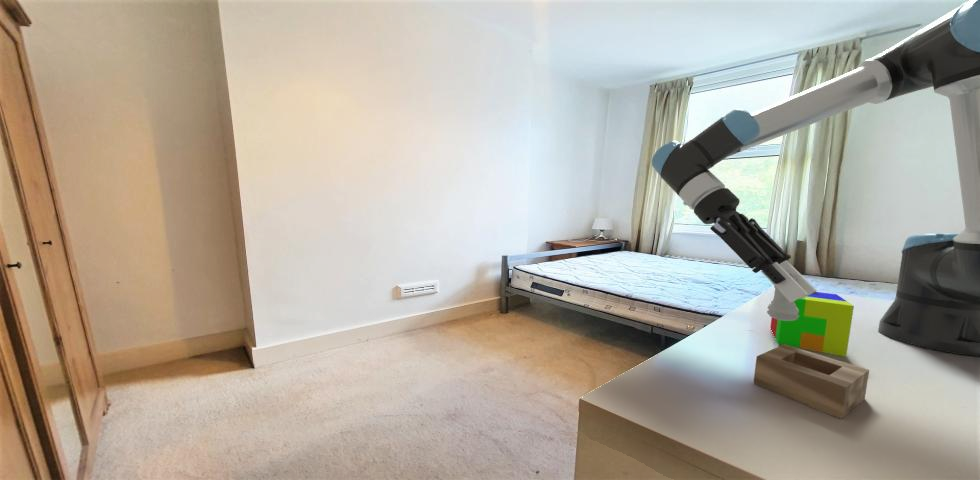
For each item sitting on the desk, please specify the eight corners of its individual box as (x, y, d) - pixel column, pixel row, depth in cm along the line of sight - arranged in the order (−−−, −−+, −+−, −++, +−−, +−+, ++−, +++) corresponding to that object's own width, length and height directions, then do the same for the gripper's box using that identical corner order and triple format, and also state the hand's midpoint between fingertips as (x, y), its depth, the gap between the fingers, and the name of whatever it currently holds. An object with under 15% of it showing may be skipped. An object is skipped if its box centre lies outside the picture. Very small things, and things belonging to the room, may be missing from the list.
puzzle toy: (829, 339, 73) (836, 294, 71) (846, 356, 64) (853, 305, 63) (770, 329, 78) (775, 286, 77) (778, 344, 70) (784, 296, 68)
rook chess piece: (805, 321, 59) (808, 277, 57) (776, 322, 60) (778, 278, 58) (788, 311, 63) (791, 269, 62) (761, 311, 64) (763, 271, 62)
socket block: (780, 369, 58) (784, 344, 58) (864, 398, 50) (869, 369, 49) (753, 383, 54) (756, 356, 53) (841, 419, 45) (846, 387, 44)
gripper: (715, 211, 77) (801, 301, 64) (672, 212, 69) (761, 314, 56) (744, 187, 72) (844, 279, 59) (701, 184, 64) (807, 290, 51)
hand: (803, 296), depth 58 cm, fingers closed on rook chess piece, 3 cm apart
